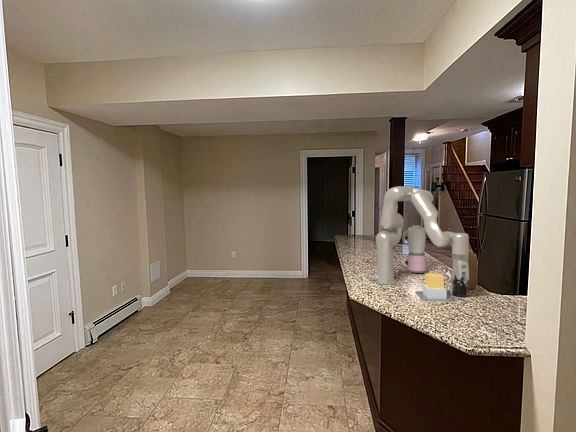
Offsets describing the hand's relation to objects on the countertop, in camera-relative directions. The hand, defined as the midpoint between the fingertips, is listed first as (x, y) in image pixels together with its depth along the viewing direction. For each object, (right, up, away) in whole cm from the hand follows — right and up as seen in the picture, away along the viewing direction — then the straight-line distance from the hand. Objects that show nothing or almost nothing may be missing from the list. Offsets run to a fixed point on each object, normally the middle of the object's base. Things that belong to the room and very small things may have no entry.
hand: (459, 291), depth 170 cm
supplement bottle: (0, -4, 0) cm, 4 cm away
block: (+14, -2, +18) cm, 23 cm away
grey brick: (-13, -3, 0) cm, 13 cm away
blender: (-2, 0, +56) cm, 56 cm away
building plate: (-13, -4, 0) cm, 14 cm away
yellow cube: (-13, +2, 0) cm, 14 cm away
